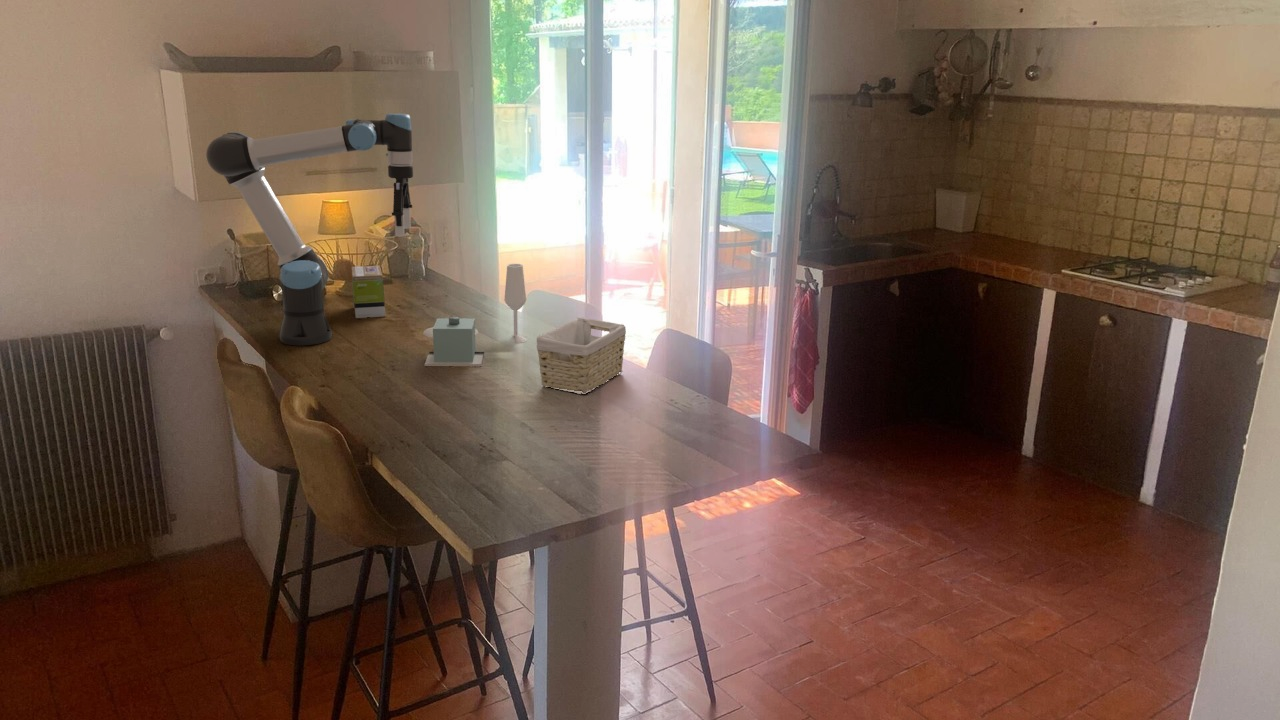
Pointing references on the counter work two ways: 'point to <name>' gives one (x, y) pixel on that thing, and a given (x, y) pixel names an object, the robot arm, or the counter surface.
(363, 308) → the tea box
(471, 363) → the mat
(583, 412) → the counter surface
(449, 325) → the cover
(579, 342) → the storage basket
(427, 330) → the plate
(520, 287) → the champagne flute
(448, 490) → the counter surface
